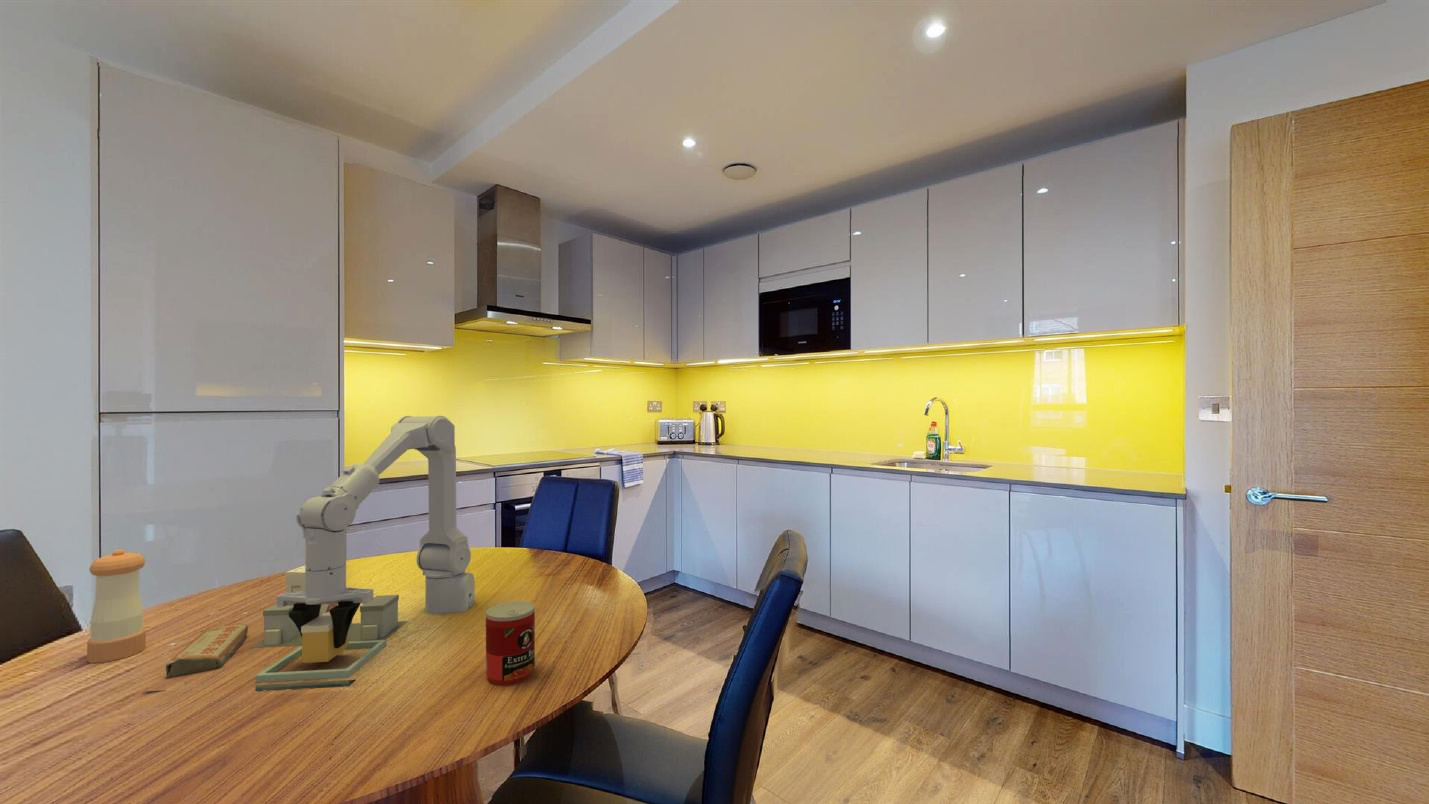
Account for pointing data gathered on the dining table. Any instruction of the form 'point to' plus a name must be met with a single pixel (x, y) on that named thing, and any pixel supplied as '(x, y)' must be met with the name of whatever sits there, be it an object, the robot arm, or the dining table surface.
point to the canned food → (510, 642)
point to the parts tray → (273, 675)
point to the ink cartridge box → (302, 585)
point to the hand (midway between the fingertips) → (325, 646)
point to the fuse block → (354, 634)
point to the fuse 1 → (280, 622)
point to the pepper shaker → (116, 608)
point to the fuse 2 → (381, 613)
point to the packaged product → (207, 651)
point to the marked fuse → (319, 640)
